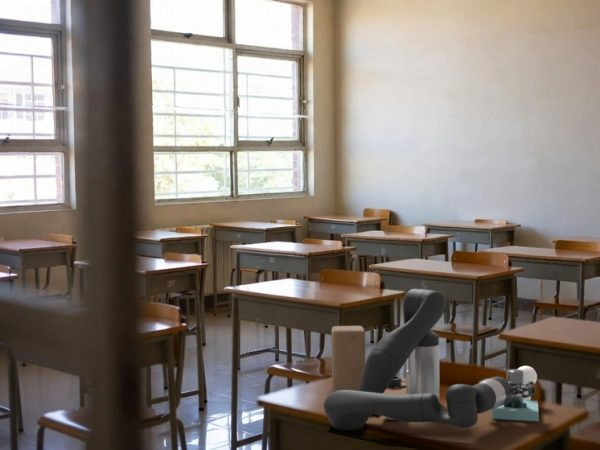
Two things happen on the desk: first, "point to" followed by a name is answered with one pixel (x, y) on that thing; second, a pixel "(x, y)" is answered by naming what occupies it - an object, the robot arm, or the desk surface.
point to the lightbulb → (528, 376)
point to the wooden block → (347, 357)
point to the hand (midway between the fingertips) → (517, 383)
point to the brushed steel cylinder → (516, 376)
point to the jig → (518, 412)
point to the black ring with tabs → (396, 382)
